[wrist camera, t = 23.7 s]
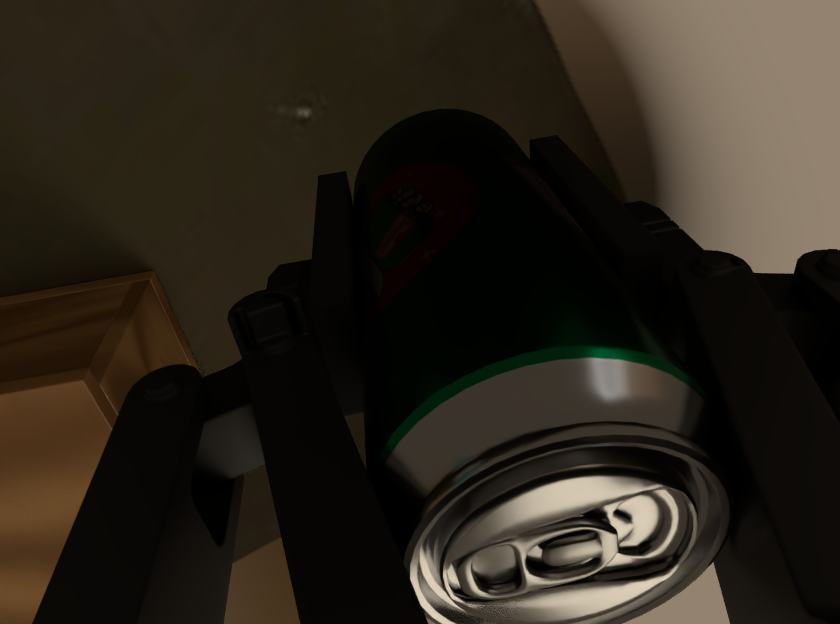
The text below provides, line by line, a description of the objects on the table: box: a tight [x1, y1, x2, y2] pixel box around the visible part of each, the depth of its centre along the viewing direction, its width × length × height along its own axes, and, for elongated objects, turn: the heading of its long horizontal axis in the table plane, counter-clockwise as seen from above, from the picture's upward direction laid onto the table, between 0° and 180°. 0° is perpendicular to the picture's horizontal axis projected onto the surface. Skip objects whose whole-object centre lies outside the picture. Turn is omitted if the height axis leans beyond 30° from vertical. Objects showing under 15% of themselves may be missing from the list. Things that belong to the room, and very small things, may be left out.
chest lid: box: [0, 368, 118, 624], centre depth 27 cm, size 17×14×1 cm
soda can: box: [353, 109, 735, 624], centre depth 13 cm, size 5×5×12 cm
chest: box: [0, 270, 246, 514], centre depth 31 cm, size 16×14×9 cm
